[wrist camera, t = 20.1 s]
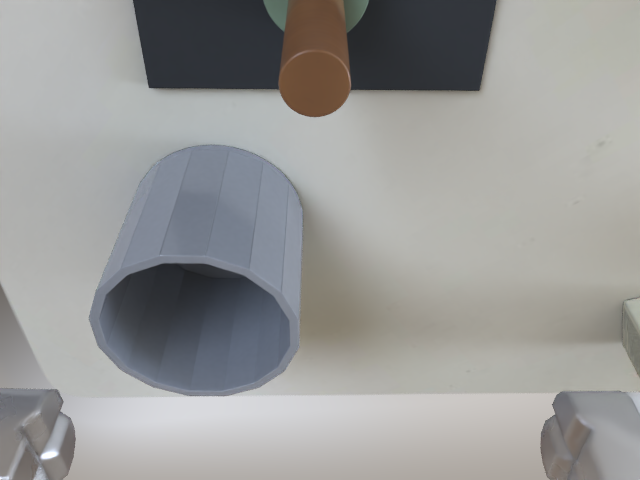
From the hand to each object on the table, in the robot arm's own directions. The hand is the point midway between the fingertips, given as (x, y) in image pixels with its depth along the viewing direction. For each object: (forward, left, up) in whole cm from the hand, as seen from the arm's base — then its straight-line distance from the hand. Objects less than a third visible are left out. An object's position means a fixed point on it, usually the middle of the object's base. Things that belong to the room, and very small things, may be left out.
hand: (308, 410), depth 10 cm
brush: (0, 0, -25) cm, 25 cm away
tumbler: (-6, -15, -25) cm, 30 cm away
